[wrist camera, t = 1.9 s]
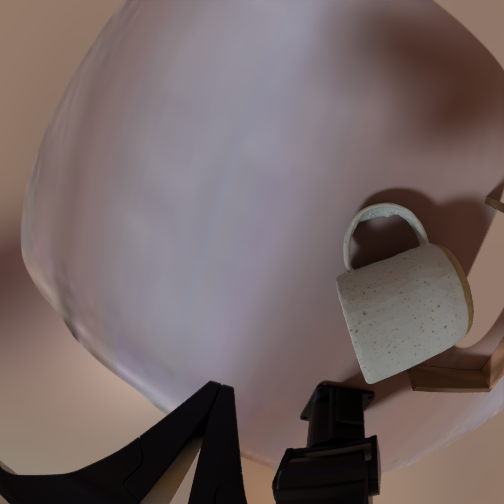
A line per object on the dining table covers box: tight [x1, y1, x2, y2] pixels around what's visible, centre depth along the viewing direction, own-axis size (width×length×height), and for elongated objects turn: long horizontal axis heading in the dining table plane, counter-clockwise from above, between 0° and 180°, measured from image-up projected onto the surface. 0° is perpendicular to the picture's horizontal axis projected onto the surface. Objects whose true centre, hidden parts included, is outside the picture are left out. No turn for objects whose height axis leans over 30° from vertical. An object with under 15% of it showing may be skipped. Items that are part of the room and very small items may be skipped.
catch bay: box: [407, 196, 504, 393], centre depth 16 cm, size 17×12×3 cm
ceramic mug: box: [336, 203, 474, 384], centre depth 15 cm, size 11×8×8 cm
